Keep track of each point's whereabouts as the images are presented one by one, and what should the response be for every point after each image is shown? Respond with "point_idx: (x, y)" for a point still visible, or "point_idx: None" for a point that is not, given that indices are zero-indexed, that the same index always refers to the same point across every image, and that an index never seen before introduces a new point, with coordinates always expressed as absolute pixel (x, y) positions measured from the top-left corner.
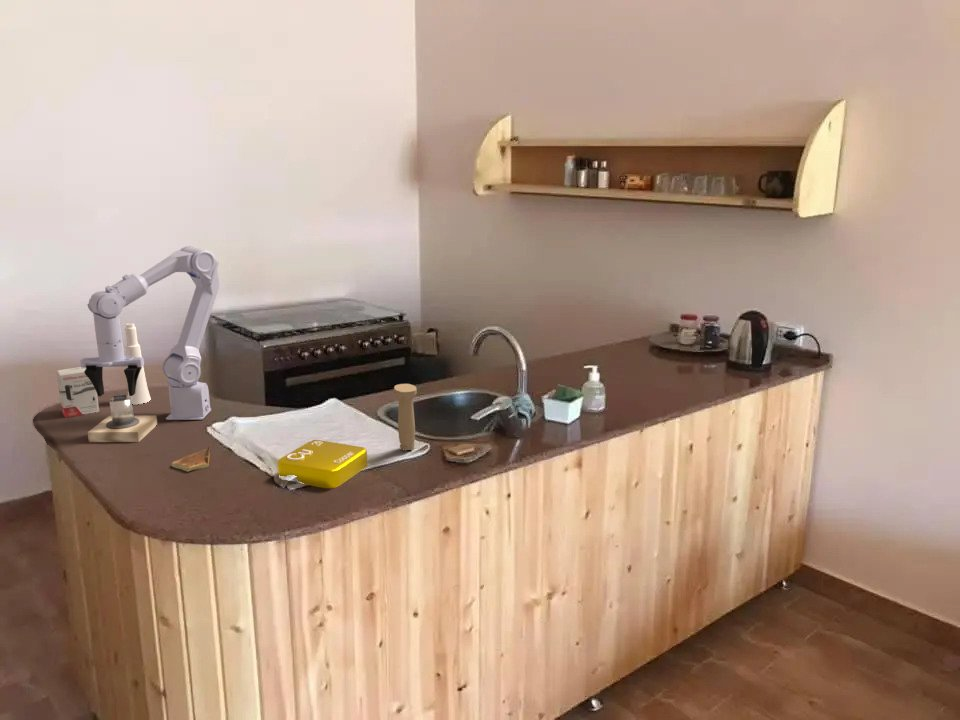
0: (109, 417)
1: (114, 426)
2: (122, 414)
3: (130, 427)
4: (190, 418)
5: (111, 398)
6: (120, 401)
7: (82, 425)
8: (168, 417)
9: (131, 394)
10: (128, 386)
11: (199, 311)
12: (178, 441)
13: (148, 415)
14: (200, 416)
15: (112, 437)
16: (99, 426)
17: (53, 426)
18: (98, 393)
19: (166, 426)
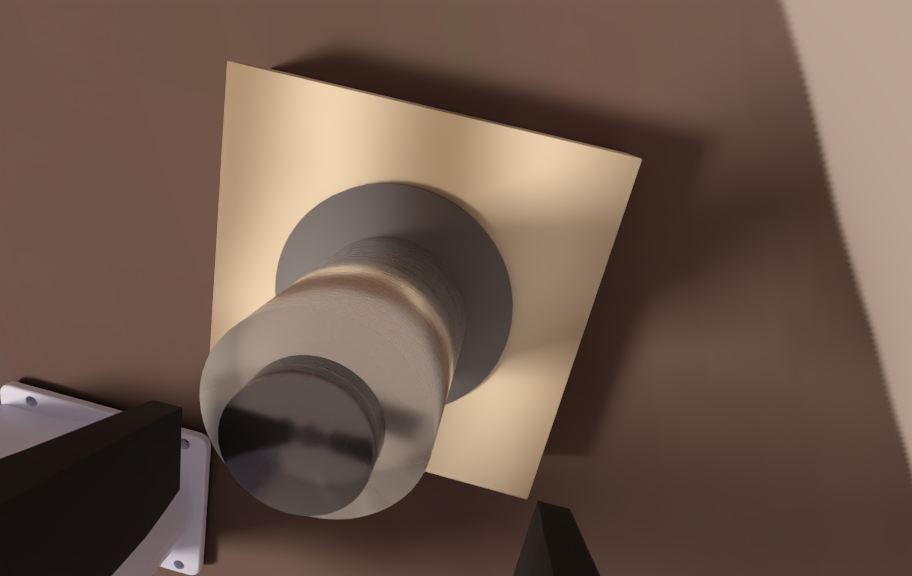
0: (517, 463)
1: (434, 226)
2: (335, 263)
3: (313, 194)
4: (64, 399)
5: (421, 470)
6: (284, 325)
7: (701, 500)
8: (194, 452)
9: (138, 407)
10: (49, 470)
11: None
12: (6, 11)
13: None
14: (12, 407)
15: (444, 110)
16: (561, 286)
17: (891, 537)
18: (561, 530)
19: (180, 334)
